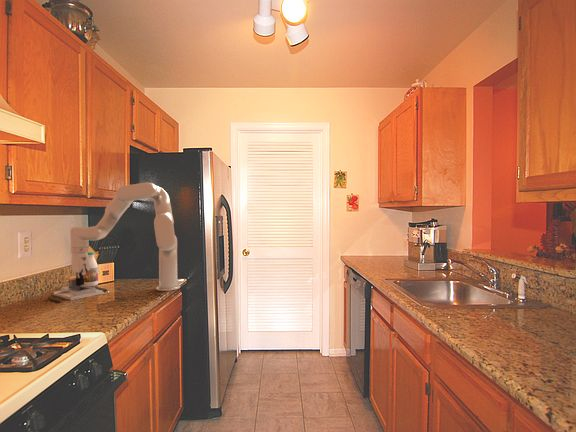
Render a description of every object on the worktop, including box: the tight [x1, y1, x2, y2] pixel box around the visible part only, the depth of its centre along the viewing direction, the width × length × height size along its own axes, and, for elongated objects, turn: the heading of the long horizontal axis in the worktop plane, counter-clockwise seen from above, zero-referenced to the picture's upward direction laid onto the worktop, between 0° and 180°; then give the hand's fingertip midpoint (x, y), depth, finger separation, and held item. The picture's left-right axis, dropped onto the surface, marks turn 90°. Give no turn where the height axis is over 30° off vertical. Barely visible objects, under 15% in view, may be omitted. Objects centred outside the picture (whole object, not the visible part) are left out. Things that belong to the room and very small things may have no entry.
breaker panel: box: [53, 285, 104, 301], centre depth 165 cm, size 15×20×4 cm
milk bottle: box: [84, 251, 99, 287], centre depth 184 cm, size 8×8×20 cm
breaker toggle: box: [68, 275, 81, 290], centre depth 167 cm, size 4×4×7 cm
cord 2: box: [93, 285, 108, 293], centre depth 173 cm, size 13×3×1 cm, turn 57°
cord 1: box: [48, 296, 63, 304], centre depth 152 cm, size 13×1×1 cm, turn 57°
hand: (80, 285), depth 164 cm, fingers closed
